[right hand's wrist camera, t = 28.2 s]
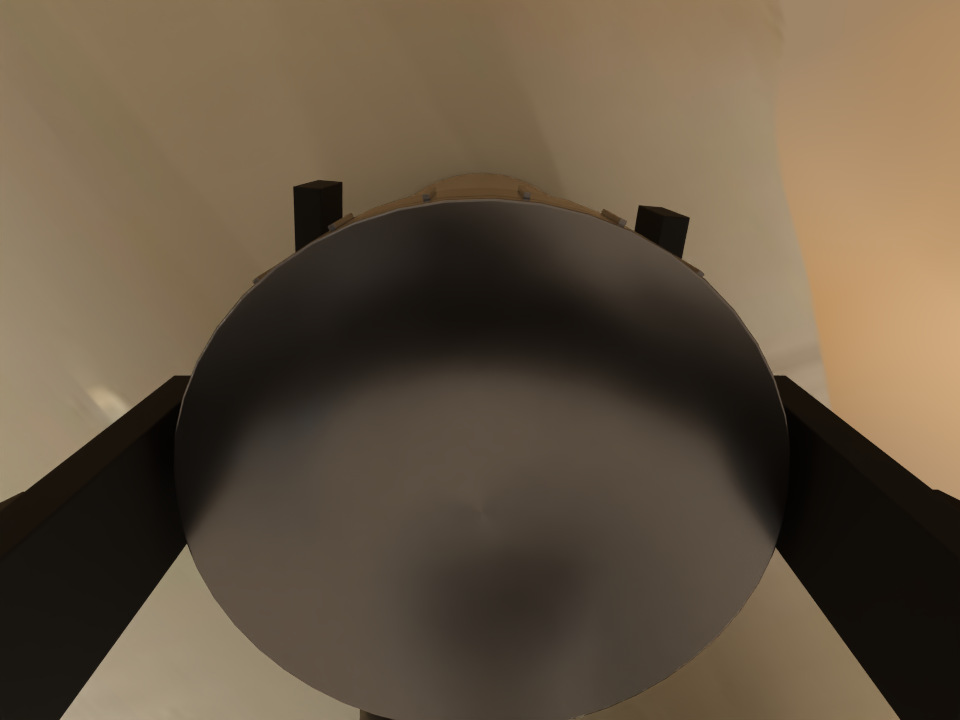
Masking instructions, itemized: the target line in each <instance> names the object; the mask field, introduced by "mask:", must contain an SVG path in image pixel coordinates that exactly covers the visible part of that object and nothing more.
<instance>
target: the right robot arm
mask: <svg viewBox="0 0 960 720" xmlns="http://www.w3.org/2000/svg"><path fill="white" fill-rule="evenodd" d="M190 377H191V376H173V377H172V378H171V379H169V380H168V381H167V382H166V383H164V384H163V385H162V386H160V387H159V388H158V389H157V390H155V391H154V392H153V393H151V394H150V395H149V396H148V397H146V398H145V399H144V400H142V401H141V402H140V403H139V404H137V405H136V406H135V407H133V408H132V409H131V410H130V411H128V412H127V413H126V414H124V415H123V416H122V417H121V418H119V419H118V420H117V421H115V422H114V423H113V424H111V425H110V426H109V427H108V428H106V429H105V430H104V431H102V432H101V433H100V434H99V435H97V436H96V437H95V438H93V439H92V440H91V441H90V442H88V443H87V444H86V445H84V446H83V447H82V448H81V449H79V450H78V451H77V452H75V453H74V454H73V455H72V456H70V457H69V458H68V459H66V460H65V461H64V462H63V463H61V464H60V465H59V466H57V467H56V468H55V469H53V470H52V471H51V472H50V473H48V474H47V475H46V476H44V477H43V478H42V479H41V480H39V481H38V482H37V483H35V484H34V485H33V486H32V487H30V488H29V489H28V490H26V491H25V492H21V493H19V494H17V495H15V496H13V497H11V498H9V499H7V500H5V501H3V502H1V503H0V720H60V718H61V717H62V716H63V714H64V713H65V711H66V710H67V709H68V707H69V706H70V705H71V703H72V702H73V700H74V699H75V698H76V696H77V695H78V693H79V692H80V691H81V689H82V688H83V687H84V685H85V684H86V682H87V681H88V680H89V678H90V677H91V675H92V674H93V673H94V671H95V670H96V669H97V667H98V666H99V664H100V663H101V662H102V660H103V659H104V658H105V656H106V655H107V653H108V652H109V651H110V649H111V648H112V646H113V645H114V644H115V642H116V641H117V640H118V638H119V637H120V635H121V634H122V633H123V631H124V630H125V629H126V627H127V626H128V624H129V623H130V622H131V620H132V619H133V617H134V616H135V615H136V613H137V612H138V611H139V609H140V608H141V606H142V605H143V604H144V602H145V601H146V599H147V598H148V597H149V595H150V594H151V593H152V591H153V590H154V588H155V587H156V586H157V584H158V583H159V582H160V580H161V579H162V577H163V576H164V575H165V573H166V572H167V570H168V569H169V568H170V566H171V565H172V564H173V562H174V561H175V559H176V558H177V557H178V555H179V554H180V552H181V551H182V550H183V548H184V547H185V546H186V544H187V542H186V540H185V538H184V534H183V530H182V526H181V522H180V518H179V514H178V510H177V506H176V497H175V487H174V476H173V458H174V441H175V431H176V426H177V422H178V417H179V412H180V408H181V403H182V399H183V395H184V393H185V390H186V388H187V385H188V383H189V380H190ZM774 378H775V381H776V384H777V387H778V391H779V394H780V397H781V401H782V404H783V407H784V411H785V414H786V421H787V428H788V435H789V442H790V450H791V461H790V489H789V495H788V501H787V507H786V513H785V518H784V522H783V526H782V529H781V532H780V535H779V538H778V541H777V544H776V548H777V550H778V551H779V552H780V554H781V555H782V557H783V558H784V559H785V561H786V562H787V564H788V565H789V566H790V568H791V569H792V570H793V572H794V573H795V575H796V576H797V577H798V579H799V580H800V582H801V583H802V584H803V586H804V587H805V588H806V590H807V591H808V593H809V594H810V595H811V597H812V598H813V599H814V601H815V602H816V604H817V605H818V606H819V608H820V609H821V611H822V612H823V613H824V615H825V616H826V617H827V619H828V620H829V622H830V623H831V624H832V626H833V627H834V629H835V630H836V631H837V633H838V634H839V635H840V637H841V638H842V640H843V641H844V642H845V644H846V645H847V646H848V648H849V649H850V651H851V652H852V653H853V655H854V656H855V658H856V659H857V660H858V662H859V663H860V664H861V666H862V667H863V669H864V670H865V671H866V673H867V674H868V675H869V677H870V678H871V680H872V681H873V682H874V684H875V685H876V687H877V688H878V689H879V691H880V692H881V693H882V695H883V696H884V698H885V699H886V700H887V702H888V703H889V705H890V706H891V707H892V709H893V710H894V711H895V713H896V714H897V716H898V717H899V718H900V720H960V500H958V499H956V498H954V497H952V496H950V495H948V494H946V493H944V492H942V491H940V490H932V489H931V488H930V487H928V486H927V485H926V484H925V483H923V482H922V481H921V480H919V479H918V478H917V477H916V476H914V475H913V474H912V473H910V472H909V471H908V470H907V469H905V468H904V467H903V466H901V465H900V464H899V463H897V462H896V461H895V460H894V459H892V458H891V457H890V456H888V455H887V454H886V453H885V452H883V451H882V450H881V449H879V448H878V447H877V446H875V445H874V444H873V443H872V442H870V441H869V440H868V439H867V438H865V437H864V436H863V435H861V434H860V433H859V432H858V431H856V430H855V429H854V428H852V427H851V426H850V425H849V424H847V423H846V422H845V421H843V420H842V419H841V418H839V417H838V416H837V415H836V414H834V413H833V412H832V411H830V410H829V409H828V408H827V407H825V406H824V405H823V404H821V403H820V402H819V401H818V400H816V399H815V398H814V397H812V396H811V395H810V394H809V393H807V392H806V391H805V390H803V389H802V388H801V387H800V386H798V385H797V384H796V383H794V382H793V381H792V380H791V379H789V378H788V377H787V376H774Z"/></svg>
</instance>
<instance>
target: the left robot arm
mask: <svg viewBox="0 0 960 720" xmlns="http://www.w3.org/2000/svg"><path fill="white" fill-rule="evenodd" d="M293 190H294V221H295V251H296V252H297V251H298V250H300V249H301V248H303V247H304V246H306V245H307V244H309V243H310V242H312V241H314V240H315V239H317V238H318V237H320V236H322V235H323V234H325V233H327V232H328V231H330V230H329V228H328V226H329V225H331V224H332V223H334V222H336V221H338V220H339V219H341V218H342V182H336V181H323V180H317V181H313V182H309V183H306V184H302V185H298V186H294V187H293ZM689 219H690V218H689V217H686V216H684V215H681V214H678V213H676V212H673V211H670V210H668V209H665V208H663V207H652V206H640V205H639V207H638V213H637V219H636V225H635V232H637V233H638V234H640V235H642V236H644V237H645V238H647V239H649V240H650V241H652V242H654V243H655V244H657V245H659V246H660V247H662V248H664V249H665V250H667V251H669V252H670V253H672V254H673V255H675V256H677V257H679V258H680V259H682V255H683V249H684V244H685V239H686V234H687V229H688V224H689ZM360 720H394V719H390V718H386V717H382V716H379V715H375V714H372V713H369V712H367V711H364V710H361V709H360Z"/></svg>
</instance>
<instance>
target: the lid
mask: <svg viewBox="0 0 960 720" xmlns="http://www.w3.org/2000/svg"><path fill="white" fill-rule="evenodd" d="M626 222H627V221H625V220H624V219H622V218H620V217H618V216H616V215H615V214H613V213H611V212H609V211H607V210H605V209H603V210H602V212H601V213H599V212H597V211H594V210H592V209H589V208H587V207H584V206H582V205H579V204H576V203H574V202H571V201H568V200H564V199H560V198H556V197H552V196H547V195H543V194H539V193H535V192H530V191H529V190H528V189H527V188H526V187H525V186H522V185H519V186H518V190H510V189H500V188H466V189H449V190H443V191H437V192H436V188H435V187H430V188H428V189H427V190H426V191H425V192H424V193H423V194H420V195H414V196H410V197H407V198H404V199H401V200H397V201H394V202H391V203H388V204H385V205H382V206H379V207H375V208H373V209H371V210H369V211H367V212H365V213H363V214H361V215H358V216H356V217H354V216H353V215H352V213H350V214H348V215H346V216H345V217H343V218H341V219H339V220H338V221H336V222H334V223H332V224H331V225H329V226H328V228H329V230H330V231H328V232H327V233H325V234H323V235H322V236H320V237H318V238H317V239H315V240H314V241H312V242H310V243H309V244H307V245H306V246H304V247H303V248H301V249H300V250H298V251H297V252H295V253H294V254H292V255H291V256H289V257H288V258H286V259H285V260H283V261H282V262H281V263H279V264H277V265H276V266H274V267H273V268H271V269H269V270H268V271H266V272H264V273H263V274H261V275H260V276H258V277H256V278H255V279H254V280H253V283H254V284H255V285H254V286H252V287H251V288H250V289H249V290H248V291H247V292H246V293H245V294H244V295H243V296H242V297H241V298H240V299H239V301H238V302H237V303H236V304H235V305H234V307H233V308H232V309H231V310H230V312H229V313H228V314H227V315H226V317H225V318H224V319H223V320H222V321H221V323H220V324H219V325H218V326H217V328H216V329H215V331H214V333H213V335H212V336H211V338H210V340H209V341H208V343H207V345H206V346H205V348H204V350H203V352H202V353H201V355H200V357H199V358H198V360H197V362H196V365H195V367H194V370H193V372H192V375H191V377H190V380H189V383H188V385H187V388H186V390H185V393H184V395H183V399H182V403H181V408H180V412H179V417H178V422H177V426H176V431H175V441H174V458H173V476H174V487H175V497H176V506H177V510H178V514H179V518H180V522H181V526H182V530H183V534H184V538H185V540H186V542H187V545H188V547H189V550H190V552H191V555H192V557H193V560H194V562H195V564H196V567H197V569H198V571H199V573H200V574H201V576H202V578H203V580H204V581H205V583H206V585H207V586H208V588H209V590H210V592H211V593H212V595H213V597H214V598H215V600H216V601H217V602H218V604H219V605H220V606H221V608H222V609H223V610H224V611H225V613H226V614H227V615H228V617H229V618H230V619H231V621H232V622H233V623H234V625H235V626H236V627H237V628H238V629H239V630H240V631H241V632H242V633H243V634H244V635H245V636H246V637H247V638H248V639H249V640H250V641H251V642H252V643H253V644H254V645H255V646H256V647H257V648H258V649H259V650H261V651H262V652H263V653H264V654H266V655H267V656H268V657H269V658H270V659H272V660H273V661H274V662H275V663H277V664H278V665H279V666H280V667H282V668H283V669H284V670H286V671H287V672H289V673H290V674H292V675H294V676H295V677H297V678H298V679H300V680H301V681H303V682H305V683H306V684H308V685H309V686H311V687H312V688H314V689H316V690H318V691H320V692H322V693H325V694H327V695H329V696H331V697H333V698H335V699H337V700H339V701H341V702H343V703H345V704H348V705H351V706H353V707H356V708H359V709H361V710H364V711H367V712H369V713H372V714H375V715H379V716H382V717H386V718H390V719H394V720H571V719H575V718H578V717H581V716H584V715H587V714H590V713H593V712H597V711H600V710H603V709H606V708H608V707H610V706H613V705H615V704H617V703H620V702H622V701H624V700H626V699H629V698H631V697H633V696H636V695H638V694H639V693H641V692H643V691H645V690H646V689H648V688H650V687H652V686H654V685H655V684H657V683H659V682H661V681H662V680H664V679H666V678H667V677H669V676H670V675H671V674H673V673H674V672H676V671H677V670H678V669H680V668H681V667H683V666H684V665H685V664H687V663H688V662H690V661H691V660H692V659H694V658H695V657H696V656H697V655H698V654H699V653H700V652H701V651H702V650H704V649H705V648H706V647H707V646H708V645H709V644H710V643H711V642H712V641H713V640H715V639H716V638H717V637H718V636H719V635H720V633H721V632H722V631H723V630H724V629H725V628H726V627H727V625H728V624H729V623H730V622H731V621H732V620H733V619H734V617H735V616H736V615H737V614H738V613H739V612H740V610H741V609H742V607H743V606H744V604H745V603H746V601H747V600H748V598H749V597H750V595H751V594H752V592H753V591H754V589H755V588H756V586H757V585H758V583H759V581H760V579H761V577H762V575H763V573H764V571H765V569H766V567H767V565H768V563H769V561H770V559H771V557H772V555H773V553H774V550H775V547H776V544H777V541H778V538H779V535H780V532H781V529H782V526H783V522H784V518H785V513H786V507H787V501H788V495H789V489H790V461H791V450H790V442H789V435H788V428H787V421H786V414H785V411H784V407H783V404H782V401H781V397H780V394H779V391H778V387H777V384H776V381H775V378H774V376H773V374H772V372H771V370H770V368H769V366H768V363H767V361H766V359H765V357H764V355H763V353H762V351H761V349H760V347H759V345H758V343H757V342H756V340H755V339H754V337H753V336H752V334H751V333H750V332H749V330H748V329H747V327H746V326H745V324H744V323H743V322H742V320H741V319H740V317H739V316H738V314H737V313H736V311H735V310H734V309H733V308H732V307H731V306H730V305H729V304H728V303H727V302H726V301H725V300H724V299H723V297H722V296H721V295H720V294H719V293H718V292H717V291H716V290H715V289H714V288H713V287H712V286H711V285H710V284H709V283H708V282H707V281H706V280H705V279H704V278H703V276H704V273H703V272H701V271H700V270H699V269H697V268H695V267H694V266H692V265H690V264H689V263H687V262H685V261H684V260H682V259H680V258H679V257H677V256H675V255H673V254H672V253H670V252H669V251H667V250H665V249H664V248H662V247H660V246H659V245H657V244H655V243H654V242H652V241H650V240H649V239H647V238H645V237H644V236H642V235H640V234H638V233H637V232H635V231H633V230H631V229H630V228H628V227H626V226H625V224H626Z"/></svg>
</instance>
